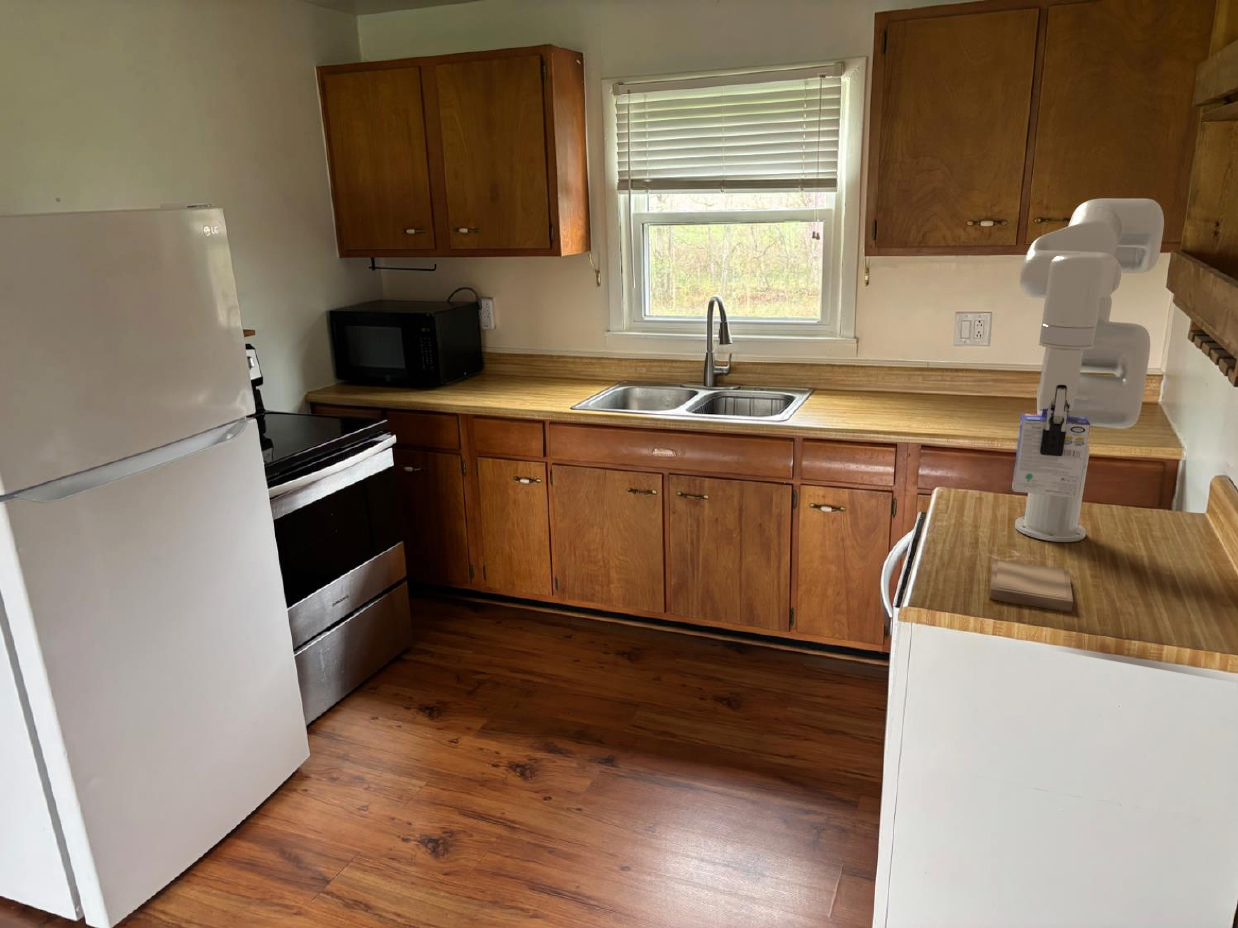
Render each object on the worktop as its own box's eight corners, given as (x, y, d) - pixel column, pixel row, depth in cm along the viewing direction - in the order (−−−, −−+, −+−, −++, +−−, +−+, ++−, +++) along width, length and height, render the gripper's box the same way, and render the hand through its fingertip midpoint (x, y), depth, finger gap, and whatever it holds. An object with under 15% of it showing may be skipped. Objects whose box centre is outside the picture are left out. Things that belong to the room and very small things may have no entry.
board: (991, 568, 157) (993, 558, 157) (1067, 579, 153) (1068, 569, 152) (989, 598, 145) (991, 588, 144) (1071, 612, 140) (1073, 601, 140)
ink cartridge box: (1076, 489, 145) (1090, 402, 141) (1080, 499, 140) (1095, 410, 136) (1010, 482, 148) (1022, 397, 144) (1012, 492, 143) (1024, 405, 139)
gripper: (1038, 329, 146) (1024, 435, 151) (1041, 343, 131) (1025, 461, 136) (1089, 331, 143) (1073, 440, 148) (1098, 346, 128) (1079, 466, 133)
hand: (1050, 449), depth 142 cm, fingers closed on ink cartridge box, 5 cm apart
